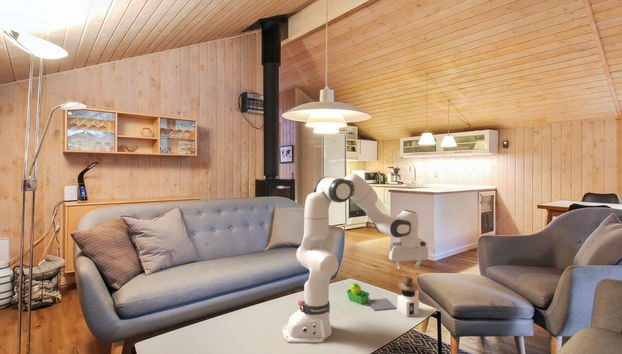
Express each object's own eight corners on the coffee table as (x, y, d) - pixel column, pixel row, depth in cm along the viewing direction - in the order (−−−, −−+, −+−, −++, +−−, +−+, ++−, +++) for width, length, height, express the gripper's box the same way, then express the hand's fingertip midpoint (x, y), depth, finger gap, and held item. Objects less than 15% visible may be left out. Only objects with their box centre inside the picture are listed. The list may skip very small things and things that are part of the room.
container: (419, 314, 166) (419, 289, 166) (406, 317, 163) (406, 291, 163) (409, 308, 173) (409, 283, 173) (397, 310, 171) (397, 286, 170)
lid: (403, 292, 162) (403, 282, 162) (394, 284, 172) (394, 275, 172) (422, 290, 164) (422, 280, 164) (412, 283, 174) (412, 273, 173)
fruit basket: (370, 302, 181) (370, 282, 180) (360, 307, 175) (360, 286, 174) (354, 296, 189) (354, 276, 189) (344, 300, 183) (344, 280, 183)
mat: (374, 310, 170) (374, 309, 170) (366, 301, 182) (366, 300, 182) (396, 308, 173) (396, 307, 173) (386, 299, 184) (386, 298, 184)
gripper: (392, 244, 161) (391, 271, 162) (430, 242, 165) (429, 269, 166) (387, 241, 168) (386, 267, 168) (423, 239, 172) (422, 265, 172)
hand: (408, 268), depth 167 cm, fingers open, 8 cm apart
